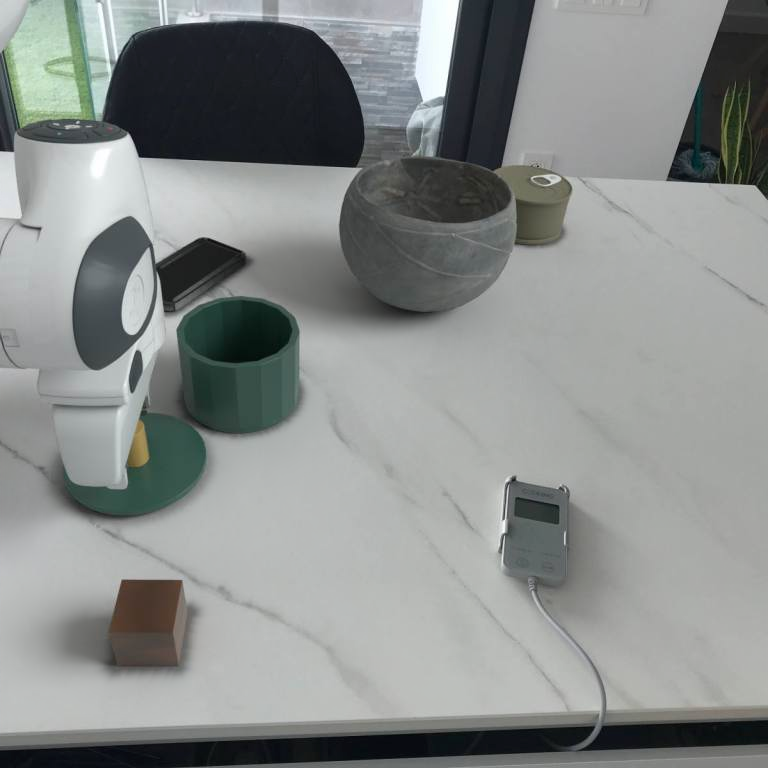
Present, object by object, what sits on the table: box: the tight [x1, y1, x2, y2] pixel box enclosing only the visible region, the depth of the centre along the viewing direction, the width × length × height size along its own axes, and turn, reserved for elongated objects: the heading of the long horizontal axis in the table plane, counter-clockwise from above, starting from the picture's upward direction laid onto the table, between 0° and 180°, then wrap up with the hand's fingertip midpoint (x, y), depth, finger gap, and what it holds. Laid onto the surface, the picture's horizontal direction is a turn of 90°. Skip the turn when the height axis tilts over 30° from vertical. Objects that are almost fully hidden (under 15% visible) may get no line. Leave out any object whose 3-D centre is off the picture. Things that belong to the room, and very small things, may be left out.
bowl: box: [338, 155, 517, 313], centre depth 95 cm, size 21×21×15 cm
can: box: [492, 164, 573, 246], centre depth 114 cm, size 12×12×7 cm
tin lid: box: [62, 412, 208, 516], centre depth 71 cm, size 13×13×5 cm
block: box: [108, 578, 188, 667], centre depth 58 cm, size 4×4×4 cm
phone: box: [156, 236, 247, 312], centre depth 98 cm, size 8×1×15 cm
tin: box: [175, 295, 301, 434], centre depth 79 cm, size 12×12×8 cm
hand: (129, 445), depth 71 cm, fingers open, 8 cm apart
